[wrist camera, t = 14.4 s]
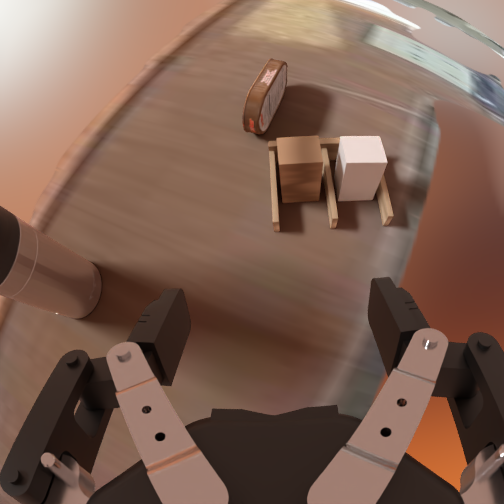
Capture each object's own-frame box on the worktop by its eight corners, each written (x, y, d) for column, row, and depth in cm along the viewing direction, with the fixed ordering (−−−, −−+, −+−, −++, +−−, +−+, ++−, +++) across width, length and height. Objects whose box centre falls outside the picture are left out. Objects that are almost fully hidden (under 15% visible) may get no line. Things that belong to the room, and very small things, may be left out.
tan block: (282, 203, 42) (278, 164, 34) (280, 178, 43) (276, 138, 35) (318, 200, 41) (323, 162, 33) (315, 176, 43) (318, 135, 34)
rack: (274, 231, 41) (272, 218, 37) (270, 158, 45) (268, 141, 41) (387, 225, 39) (395, 212, 35) (371, 154, 43) (375, 137, 39)
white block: (337, 201, 41) (346, 162, 33) (333, 176, 42) (340, 136, 34) (372, 199, 40) (387, 162, 32) (367, 176, 42) (379, 136, 33)
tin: (275, 84, 51) (271, 48, 43) (291, 87, 50) (289, 51, 42) (244, 142, 46) (235, 104, 39) (263, 146, 46) (257, 108, 38)
